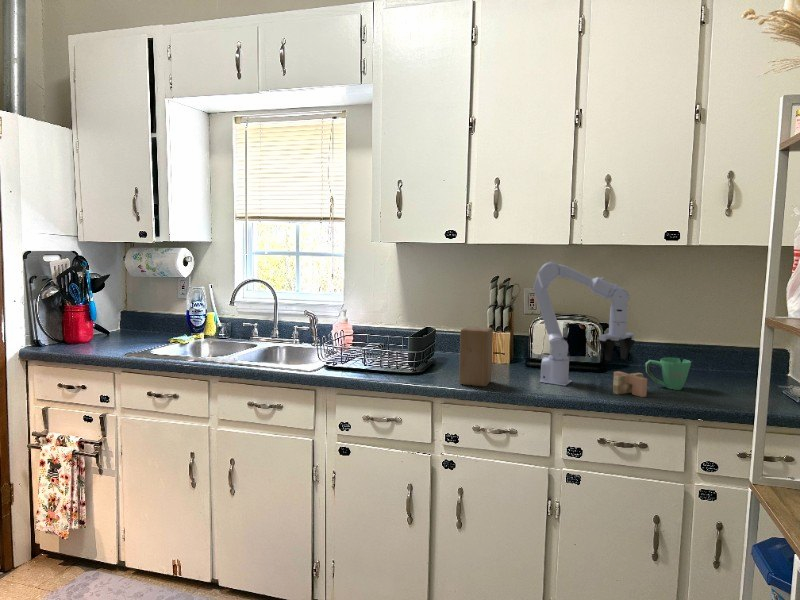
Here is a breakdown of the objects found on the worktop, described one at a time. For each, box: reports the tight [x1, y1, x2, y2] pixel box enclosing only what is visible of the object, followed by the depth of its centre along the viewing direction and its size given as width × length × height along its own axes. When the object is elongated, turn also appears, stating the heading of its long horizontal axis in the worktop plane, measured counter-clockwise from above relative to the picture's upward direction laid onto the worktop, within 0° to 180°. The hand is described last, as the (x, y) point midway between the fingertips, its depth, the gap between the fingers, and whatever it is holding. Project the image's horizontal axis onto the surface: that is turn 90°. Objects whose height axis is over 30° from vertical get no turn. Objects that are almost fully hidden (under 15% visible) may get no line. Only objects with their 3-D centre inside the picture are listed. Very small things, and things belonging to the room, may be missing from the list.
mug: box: [645, 357, 692, 391], centre depth 200 cm, size 15×10×10 cm
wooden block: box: [458, 325, 494, 388], centre depth 202 cm, size 10×10×20 cm
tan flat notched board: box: [612, 370, 648, 398], centre depth 193 cm, size 12×2×6 cm, turn 27°
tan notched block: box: [612, 372, 644, 395], centre depth 193 cm, size 12×2×6 cm, turn 117°
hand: (615, 359), depth 199 cm, fingers open, 7 cm apart
